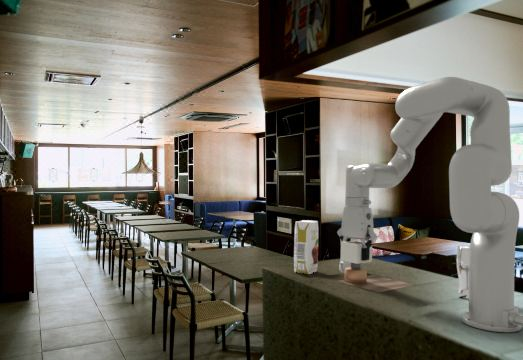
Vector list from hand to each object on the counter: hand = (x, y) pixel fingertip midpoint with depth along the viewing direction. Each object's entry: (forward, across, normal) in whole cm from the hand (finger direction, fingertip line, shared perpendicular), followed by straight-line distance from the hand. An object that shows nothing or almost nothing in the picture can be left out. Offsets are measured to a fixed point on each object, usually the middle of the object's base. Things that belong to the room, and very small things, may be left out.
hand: (356, 257), depth 139 cm
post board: (+9, -4, -4) cm, 11 cm away
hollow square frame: (+1, 0, 0) cm, 1 cm away
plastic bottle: (+9, +15, -12) cm, 21 cm away
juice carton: (+9, +26, -2) cm, 27 cm away
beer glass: (+9, -27, -18) cm, 34 cm away
